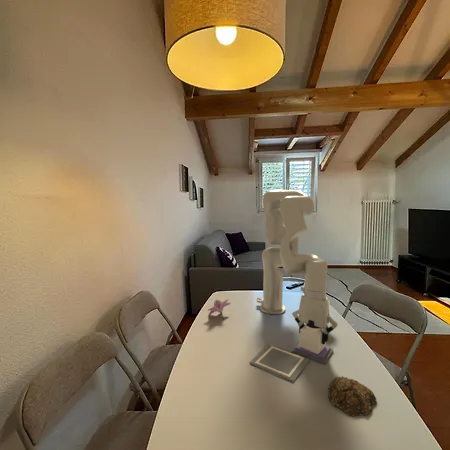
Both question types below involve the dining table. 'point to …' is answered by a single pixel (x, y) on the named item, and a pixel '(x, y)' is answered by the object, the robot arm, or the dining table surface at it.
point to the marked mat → (280, 362)
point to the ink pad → (320, 357)
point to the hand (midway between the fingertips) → (313, 338)
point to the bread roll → (351, 396)
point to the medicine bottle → (311, 338)
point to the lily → (218, 306)
